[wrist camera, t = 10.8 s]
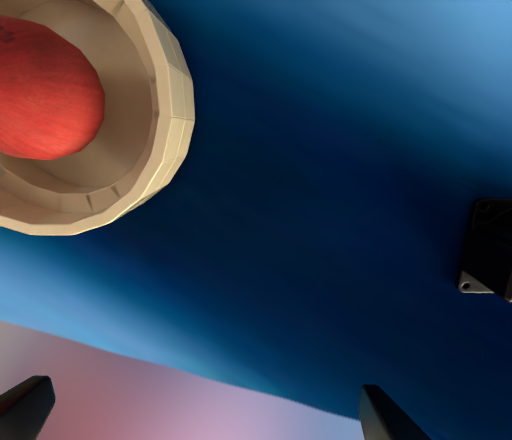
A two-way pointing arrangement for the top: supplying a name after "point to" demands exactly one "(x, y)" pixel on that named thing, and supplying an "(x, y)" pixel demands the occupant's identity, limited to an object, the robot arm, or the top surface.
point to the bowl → (106, 120)
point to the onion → (45, 93)
